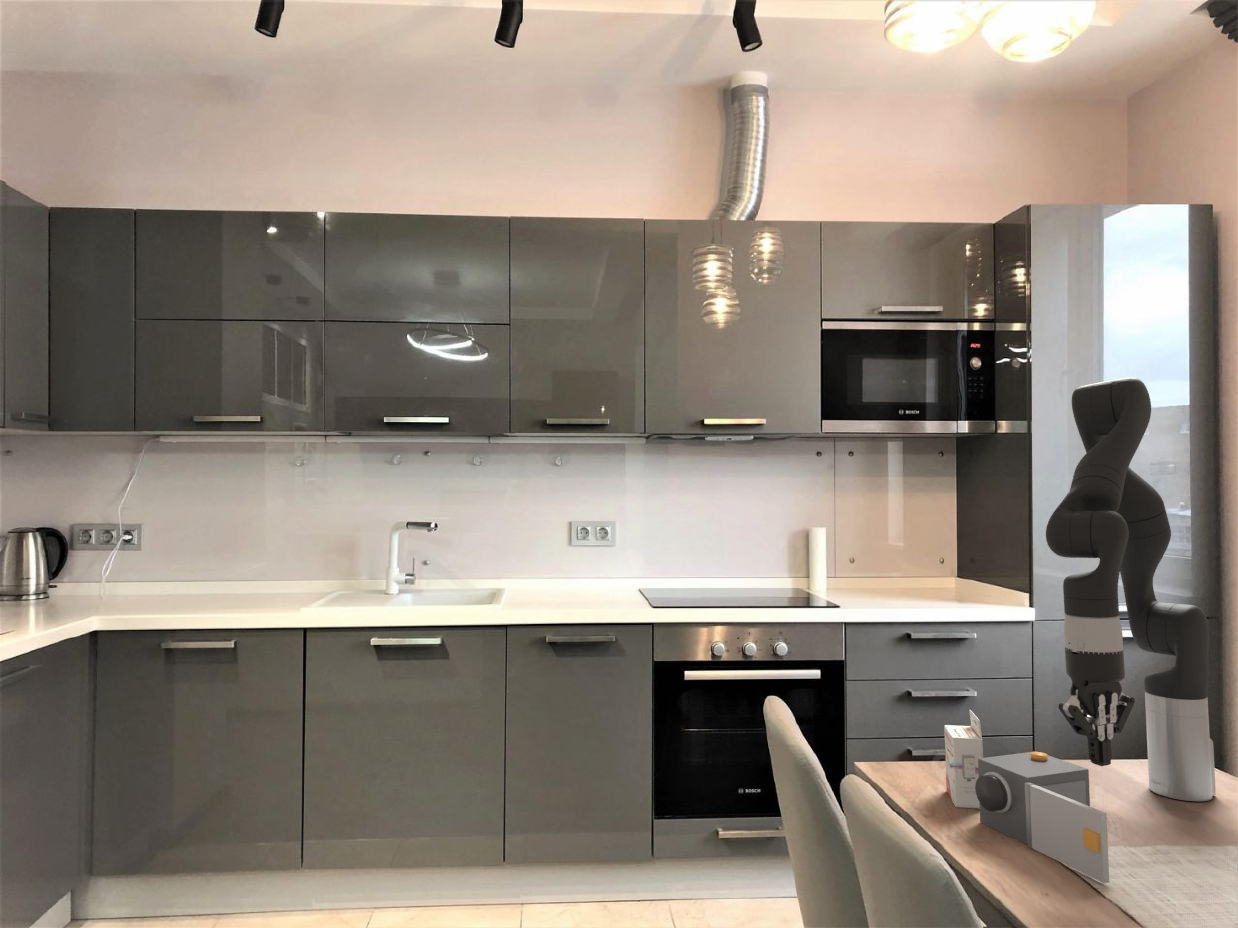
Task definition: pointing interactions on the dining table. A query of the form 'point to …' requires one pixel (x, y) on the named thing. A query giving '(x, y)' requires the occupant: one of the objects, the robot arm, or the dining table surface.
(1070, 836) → the side door
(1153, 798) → the dining table surface
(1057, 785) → the camera body
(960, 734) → the ink cartridge box
